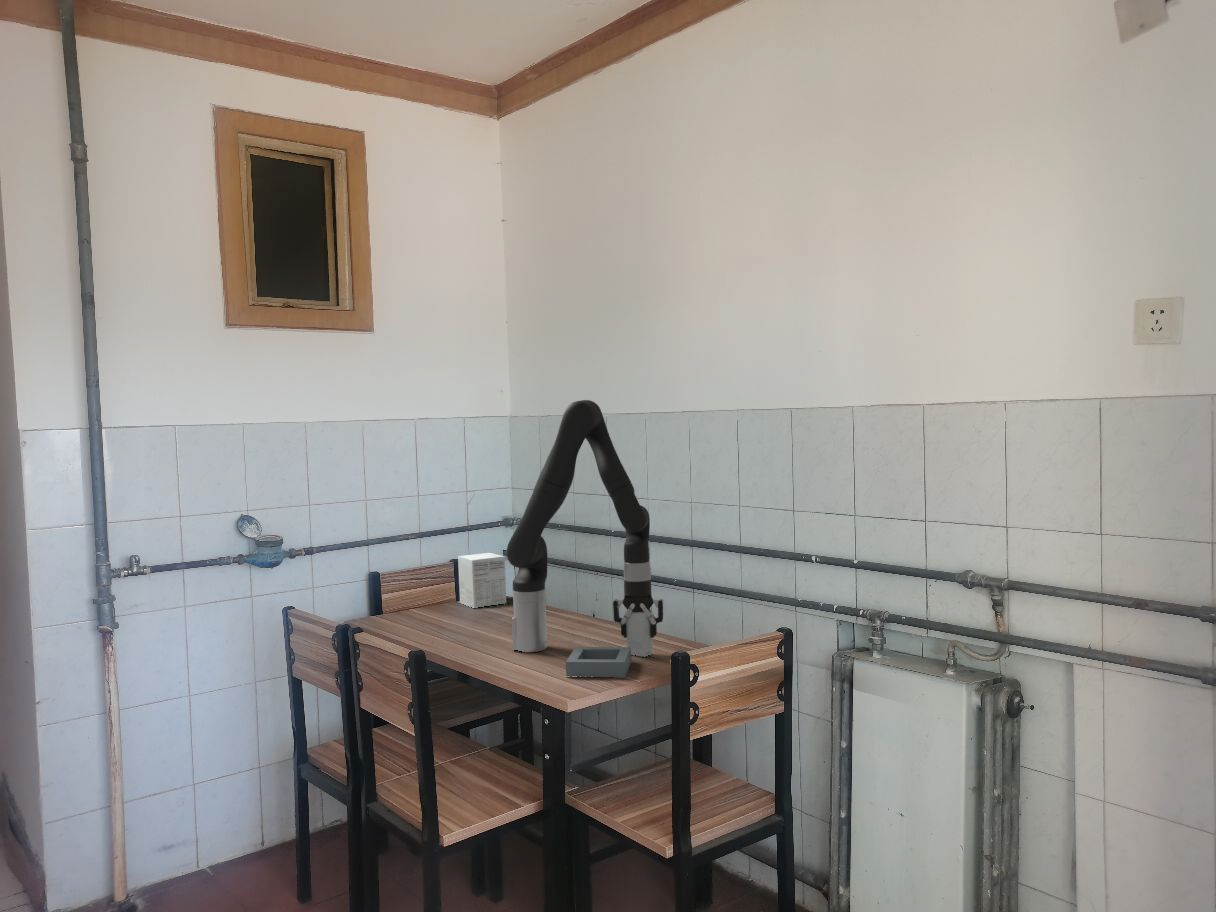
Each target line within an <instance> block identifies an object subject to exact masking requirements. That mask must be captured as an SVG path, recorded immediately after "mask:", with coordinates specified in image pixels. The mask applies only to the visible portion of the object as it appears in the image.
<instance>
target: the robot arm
mask: <svg viewBox="0 0 1216 912" xmlns="http://www.w3.org/2000/svg"><path fill="white" fill-rule="evenodd" d="M560 421H561V422H560V425H559V428H558V431H557V434H556V437H555V440H554V443H553V445H552V447H551V449H550V452H549V453H548V456H547V458H546V461H545V463H544V464H543V467H542V469H541V472H540V474H539V476H538V478H537V480H536V483H535V486H534V488H533V491H532V493H531V496H530V498H529V500H528V503H527V505H526V507H525V510H524V513H523V516H522V517H521V519H520V521H519V523H518V525H517V527H516V529H515V531H514V532H513V534H512V536H511V538H510V539H509V541H508V542H507V543H508V544H507V547H506V557H507V560H508V563H510V565H511V566H512V567H515V568H518V571H517V574H516V576H515V577H514V579H513V581H512V602H513V605H512V607H513V617H512V618H511V625H512V626H511V627H512V628H511V630H512V631H511V632H512V634H511V635H512V651H513V650H518V651H517V652H519V651H522V653H535V652H542V651H545V650H546V649H548V639H547V638H548V635H547V613H546V612H547V610H546V606H547V605H546V581H547V577H548V547H547V543H546V540H545V539H544V537H543V536H542V535H543V532H544V529H545V528H546V527H547V525H548V523H549V522H550V521H551V520H552V518H553V517H554V516H555V514H556V513H557V512H558V511H559V509H560V508H561V507H562V505H563V504H564V503H565V502H564V501H565V499H566V497H567V496H568V493H569V491H570V488H571V487H572V484H573V481H574V476H575V473H576V472H575V471H576V465H577V463H576V462H577V458H578V455H579V451H580V449H581V447H582V446H583V444H584V441H585V440H586V441H587V442H588V444H589V447H590V449H591V450H592V453H593V455H594V459H595V462H596V467H597V471H598V473H599V477H600V479H601V482H602V483H603V486H604V488H605V490H606V492H607V494H608V496H609V497H610V499H611V501H612V503H613V506H614V509H615V511H616V514H617V518H618V520H619V522H620V524H621V526H622V527H623V528H624V529H625V540H624V541H625V542H624V545H623V592H624V593H623V594H624V596H623V599H617V598H615V599H614V600H613V601H612V608H613V609H612V610H613V622H615V623H618V624H620V634H621V636H623V638H625V639H627V634H626V620H627V619H628V617H629V615H630V614H631V612H644V613H646V616H647V617H648V618H649V620H650V621H651V638H652V639H655V637H656V635H657V633H658V632H657V631H658V629H657V624H658V623H662V622H663V620H664V599H662V598H659V599H654V598H653V596H652V573H651V572H652V571H651V570H652V569H651V568H652V567H651V564H650V563H651V562H650V546H649V543H650V542H649V540H650V521H651V519H650V513H649V511H648V509H647V508H646V507H645V506H643V505H640V502H639V501H638V499H637V496H636V495H635V494H636V493H635V492H636V491H635V488H634V485H633V483H632V481H631V479H630V476H629V475H628V473H627V471H626V469H625V468H624V465H623V464H622V462H621V460H620V458H619V455H618V453H617V450H616V448H615V446H614V443H613V441H612V438H611V437H610V434H609V431H608V427H607V425H606V421H605V418H604V415H603V412H602V409H601V408H600V406H599V404H597V403H596V402H595V401H593V400H590V399H583V400H576V401H573V402H571V403H570V404H569V405H568V406H566V408H565V410H564V412H563V415H562V417H561V420H560ZM622 605H623V606H624V607H625V609H626V611H625V612H626V613H625V612H624V615H623V617H621V616H620V608H621V607H622ZM653 605H655V608H656V609H657V617H656V616H655V615H654V613H653V611H652V610H651V607H652V606H653ZM649 611H650V612H649Z"/></svg>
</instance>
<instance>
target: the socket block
mask: <svg viewBox="0 0 1216 912" xmlns="http://www.w3.org/2000/svg"><path fill="white" fill-rule="evenodd" d="M631 664H632V655H631V647H627V646H624V647H623V646H622V647H621V646H575V647H574V649H573V650H572V651H571V653H570V654H569V656H568V658H567V659H566V661H565V677H566V676H570V677H569V678H572V676H577V677H580V676H581V677H585V676H586V677H591V676H593V677H614V678H613V679H624V678H626V676H627V673H628V671H629V669H630V666H631Z"/></svg>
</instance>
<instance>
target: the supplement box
mask: <svg viewBox="0 0 1216 912" xmlns="http://www.w3.org/2000/svg"><path fill="white" fill-rule="evenodd" d="M457 563H458V564H457V565H458V585H459V589H458V590H459V604H460V603H461V604H460V605H463V604H464V605H463V606H465V605H466V607H468V606H469V608H471V607H472V608H471V609H473V608H476V609H479V608H478V607H483V608H485V607H484V606H490V605H497V606H499V605H498V604H504V603H506V604H507V583H506V579H507V578H506V556H505V555H504V556H503V555H500V554H496V553H492V552H485V553H473V554H466V555H458V556H457ZM504 605H505V604H504ZM490 607H491V606H490Z"/></svg>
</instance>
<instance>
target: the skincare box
mask: <svg viewBox="0 0 1216 912" xmlns="http://www.w3.org/2000/svg"><path fill="white" fill-rule="evenodd" d="M626 612H627V611H625V612H624V614H625V613H626ZM649 612H650V611H649ZM651 624H652V623H651V621H650V620H649V618H648V617H647V616H646V613H644V612H631V614H630V615H629V617H628V619H627V620H626V634H627V637H626V644H627V646H626V647H631V656H635V655H636V656H635V657H642V658H643V657H644V658H646V656H647V657H649V656H648V655H650V656H652V655H654V647H653V638H651ZM651 654H652V655H651Z"/></svg>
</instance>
